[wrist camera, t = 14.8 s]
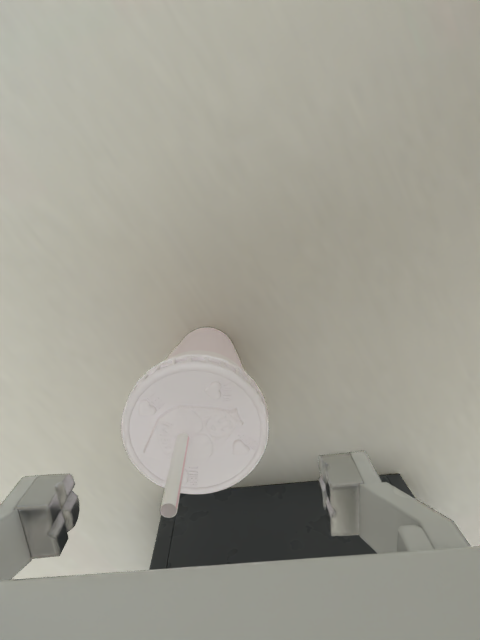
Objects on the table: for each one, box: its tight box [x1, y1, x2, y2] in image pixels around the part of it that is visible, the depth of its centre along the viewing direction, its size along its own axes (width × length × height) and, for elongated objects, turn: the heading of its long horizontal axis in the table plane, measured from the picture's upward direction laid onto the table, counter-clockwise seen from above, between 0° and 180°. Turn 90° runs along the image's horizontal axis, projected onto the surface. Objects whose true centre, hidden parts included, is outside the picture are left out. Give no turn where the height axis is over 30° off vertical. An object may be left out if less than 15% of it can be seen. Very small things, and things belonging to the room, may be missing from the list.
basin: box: [150, 474, 415, 570], centre depth 28 cm, size 17×17×7 cm
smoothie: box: [121, 327, 269, 518], centre depth 20 cm, size 6×6×14 cm
